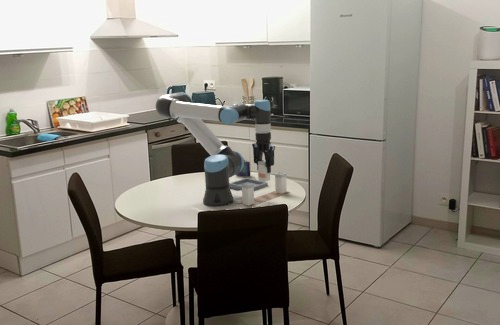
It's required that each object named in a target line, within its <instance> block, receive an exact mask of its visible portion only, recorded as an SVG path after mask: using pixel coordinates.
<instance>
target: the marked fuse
mask: <svg viewBox="0 0 500 325" xmlns="http://www.w3.org/2000/svg"><path fill="white" fill-rule="evenodd" d="M265 166H266V161H265V159H262V160H260V161H258V170H257V172H258V173H257V174H258V175H257V178H258V177H259V178H258V181H262V182H269V181H271V178H270V179H268V180H265Z"/></svg>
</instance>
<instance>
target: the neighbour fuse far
mask: <svg viewBox="0 0 500 325" xmlns="http://www.w3.org/2000/svg"><path fill="white" fill-rule="evenodd" d="M274 180H275V181H274V182H275V185H274V187H275V191H276V193H280V194H283V193H285V192H288V191H287V172H280V171H279V172H277V173H274Z"/></svg>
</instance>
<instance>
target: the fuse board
mask: <svg viewBox="0 0 500 325" xmlns="http://www.w3.org/2000/svg"><path fill="white" fill-rule="evenodd" d="M290 193H291V191H287V192H285V193H283V194H280V193H276V190H274V191H271V192H268V193H266V194H263V195H260V196H257V197H254V204H251V205H249V206H248V205H245V204H243V201H241V202H239V203H238V205H242V206H245V207H249V208H251V207H254V206H257V205H259V204H260V205H261V204H262V203H265V202H267V201H270V200H273V199H276V198H279V197H281V196H284V195H288V194H290Z"/></svg>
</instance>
